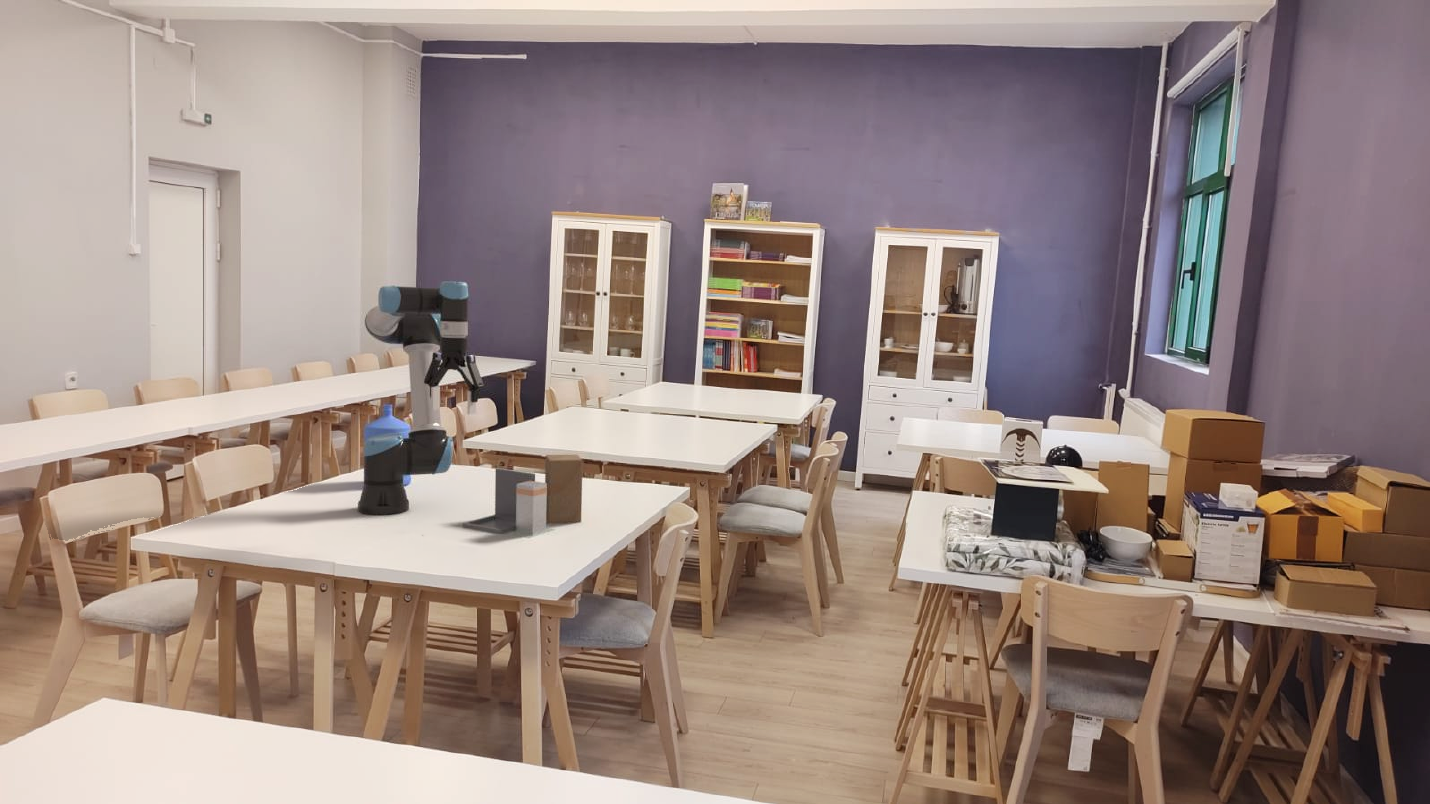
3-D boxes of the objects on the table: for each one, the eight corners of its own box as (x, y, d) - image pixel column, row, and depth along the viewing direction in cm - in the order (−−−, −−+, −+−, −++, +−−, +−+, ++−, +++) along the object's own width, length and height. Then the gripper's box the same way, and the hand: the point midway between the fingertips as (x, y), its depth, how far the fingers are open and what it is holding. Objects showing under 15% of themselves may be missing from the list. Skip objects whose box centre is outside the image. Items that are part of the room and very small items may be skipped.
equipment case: (462, 529, 287) (462, 475, 285) (497, 520, 300) (498, 468, 299) (500, 537, 280) (500, 481, 279) (534, 526, 294) (535, 473, 292)
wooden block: (547, 526, 295) (548, 460, 293) (544, 518, 304) (545, 454, 302) (581, 525, 297) (582, 459, 295) (576, 518, 307) (578, 454, 305)
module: (515, 532, 283) (516, 483, 281) (529, 528, 288) (530, 480, 286) (532, 535, 280) (533, 486, 278) (546, 531, 285) (547, 483, 284)
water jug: (364, 480, 353) (364, 402, 350) (410, 479, 358) (410, 402, 354) (363, 489, 338) (362, 407, 335) (411, 487, 343) (411, 407, 340)
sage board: (506, 537, 281) (506, 533, 280) (533, 529, 291) (533, 525, 291) (528, 541, 277) (528, 537, 277) (555, 533, 287) (555, 529, 287)
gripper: (411, 334, 281) (411, 408, 284) (478, 339, 270) (478, 416, 272) (430, 334, 288) (430, 406, 290) (497, 338, 276) (496, 414, 278)
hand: (453, 411), depth 281 cm, fingers open, 13 cm apart
